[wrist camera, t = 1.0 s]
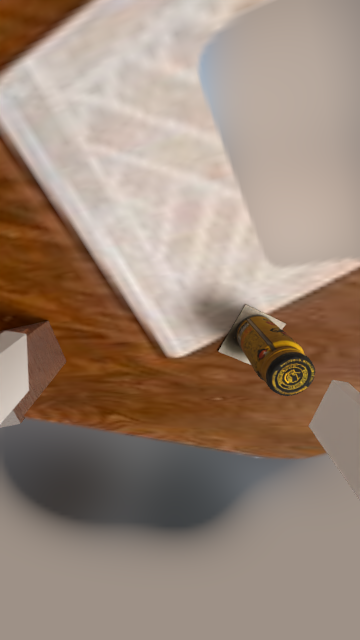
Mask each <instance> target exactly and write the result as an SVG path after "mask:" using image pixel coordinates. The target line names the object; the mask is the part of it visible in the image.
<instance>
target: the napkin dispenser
mask: <svg viewBox="0 0 360 640" xmlns="http://www.w3.org/2000/svg"><path fill="white" fill-rule="evenodd" d="M4 331H11V332H18V333H25V334H26V335H27V358H28V381H29V391H28V392H27V394H26V395H25V396H24V397H23V398H22V399H21V401H20V402H19V403H18V404H17V405H16V406H15V408H14V409H13V410H12V411H11V412H10V413H9V415H8V416H7V417H6V418H5V419H4V421H3V422H2V423H1V424H0V428H1V427H6V426H11V425H16V424H21V422H22V421H23V420H24V419H25V417H24V414H25V413H26V412H27V411H28V409H29V408H30V407H31V406H32V404H33V403H34V402H35V400H36V399H37V398H38V397H39V395H40V394H41V393H42V392H43V390H44V389H45V388H46V387H47V385H48V384H49V383H50V382H51V380H52V379H53V378H54V376H55V375H56V374H57V373H58V371H59V370H60V369H61V368H62V366H63V365H64V364H65V363H66V360H65V357H64V355H63V353H62V351H61V348H60V346H59V344H58V341H57V339H56V337H55V335H54V332H53V330H52V328H51V326H50V323H49V321H44V322H40V323H35V324H31V325H26V326H22V327H17V328H12V329H8V330H3V331H0V334H1V333H3V332H4Z"/></svg>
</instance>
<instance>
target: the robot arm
mask: <svg viewBox="0 0 360 640" xmlns="http://www.w3.org/2000/svg"><path fill="white" fill-rule="evenodd" d="M28 391H29V381H28V358H27V335H26V334H25V333H18V332H11V331H4V332H3V333H1V334H0V424H1V423H2V422H3V421H4V419H5V418H6V417H7V416H8V415H9V413H10V412H11V411H12V410H13V409H14V408H15V406H16V405H17V404H18V403H19V402H20V401H21V399H22V398H23V397H24V396H25V395H26V394H27V392H28ZM309 427H310V429H311V430H312V432H313V433H314V435H315V436H316V437H317V439H318V440H319V442H320V443H321V445H322V446H323V448H324V449H325V451H326V452H327V453H328V455H329V456H330V458H331V459H332V460H333V462H334V464H335V465H336V466H337V468H338V469H339V471H340V472H341V474H342V475H343V477H344V478H345V480H346V481H347V482H348V484H349V485H350V487H351V488H352V490H353V491H354V493H355V494H356V495H357V497H358V498H359V500H360V393H359V392H358V391H357V390H356V389H355V388H354V387H352V386H351V385H350V384H349V383H348V382H342V381H335V380H332V382H331V384H330V386H329V388H328V390H327V392H326V394H325V395H324V397H323V399H322V401H321V403H320V405H319V407H318V409H317V411H316V413H315V415H314V417H313V419H312V421H311V423H310V425H309Z"/></svg>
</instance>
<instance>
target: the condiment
mask: <svg viewBox="0 0 360 640" xmlns="http://www.w3.org/2000/svg"><path fill="white" fill-rule="evenodd" d="M285 325H286V324H285V323H283V322H281V321H279V320H277V319H275V318H273V317H271V316H269V315H267V314H265V313H263V312H260V311H258V310H256V309H254V308H252V307H250V306H248V305H245V307H244V308H243V310H242V311H241V313H240V315H239V316H238V318H237V320H236V321H235V323H234V325H233V327H232V329H231V330H230V332H229V334H228V335H227V337H226V339H225V340H224V342H223V344H222V346H221V348H220V349H219V351H218V352H221V353H224V354H226V355H229V356H231V357H234V358H236V359H238V360H241V361H243V362H245V363H248V364H250V365H252V367H253V368H254V370H255V372H256V373H257V375H258V376H259V377H260V378H261V379H262V380H264V381H265V382H266V383H267V385H268V386H269V387H270V389H272V391H274V392H275V393H277V394H280V395H284V396H290V395H295V394H298V393H300V392H302V391H304V390H305V389H306V388H307V387H308V386H309V385H310V384H311V382H312V381H313V379H314V374H315V368H314V365H313V364H312V362H311V360H310V359H309V358H308V357H307V356H305V354H304V352H303V350H302V348H301V347H300V346H299V345H298V344H297V342H295V341H294V340H293V339H292V338H290V337H289V336H288V335H287V334H286V333H285V332H284V331H283V330H282V328H283V327H284V326H285ZM234 337H235V338H234Z"/></svg>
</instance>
